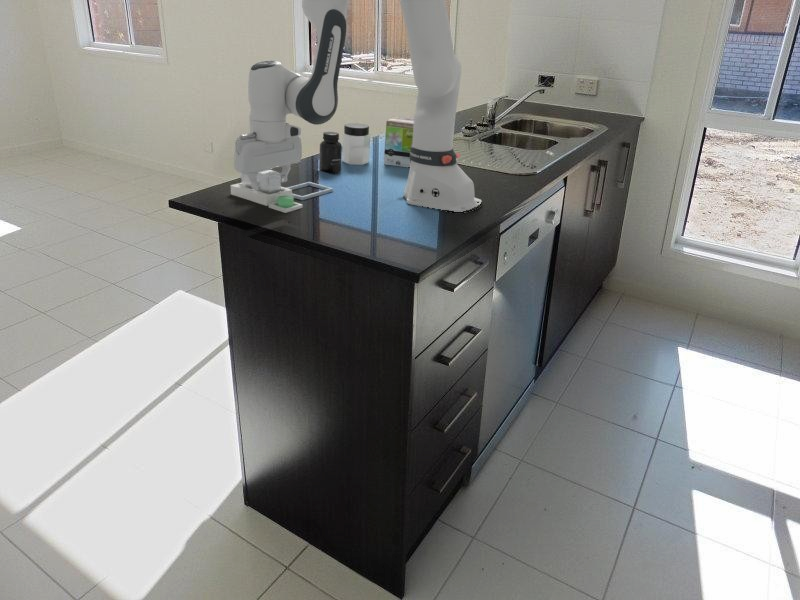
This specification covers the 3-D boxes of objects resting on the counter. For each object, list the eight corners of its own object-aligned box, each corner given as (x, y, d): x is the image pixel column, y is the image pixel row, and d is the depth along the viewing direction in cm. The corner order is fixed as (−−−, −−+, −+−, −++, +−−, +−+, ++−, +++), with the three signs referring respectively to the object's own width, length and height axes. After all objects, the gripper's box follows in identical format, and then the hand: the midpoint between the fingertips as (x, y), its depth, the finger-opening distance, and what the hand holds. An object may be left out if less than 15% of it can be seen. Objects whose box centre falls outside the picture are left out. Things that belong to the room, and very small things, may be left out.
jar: (368, 159, 214) (369, 123, 209) (369, 165, 207) (371, 128, 202) (342, 158, 213) (342, 122, 208) (342, 164, 206) (343, 127, 201)
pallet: (292, 202, 166) (291, 189, 164) (266, 210, 159) (266, 196, 158) (257, 192, 173) (256, 179, 171) (231, 198, 166) (230, 185, 165)
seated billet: (263, 193, 168) (263, 167, 165) (252, 196, 165) (251, 170, 162) (253, 190, 170) (252, 164, 167) (241, 193, 167) (240, 167, 164)
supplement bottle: (337, 175, 193) (338, 136, 188) (316, 173, 194) (316, 134, 189) (343, 170, 199) (344, 132, 194) (323, 168, 200) (323, 130, 195)
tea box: (383, 165, 208) (385, 120, 202) (390, 159, 217) (393, 115, 211) (427, 170, 205) (431, 125, 199) (433, 164, 214) (437, 119, 208)
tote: (333, 195, 174) (333, 188, 173) (302, 204, 165) (302, 197, 164) (309, 188, 179) (309, 181, 178) (277, 197, 170) (277, 189, 169)
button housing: (302, 212, 160) (302, 204, 159) (285, 217, 155) (285, 209, 154) (285, 206, 163) (285, 199, 162) (268, 211, 158) (268, 204, 157)
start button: (297, 209, 159) (296, 198, 158) (285, 212, 156) (285, 201, 155) (285, 205, 161) (285, 194, 160) (274, 209, 158) (274, 197, 157)
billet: (281, 199, 164) (280, 172, 161) (269, 202, 162) (269, 175, 158) (270, 195, 167) (269, 169, 164) (258, 198, 164) (257, 172, 161)
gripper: (244, 138, 147) (247, 195, 153) (305, 127, 162) (305, 180, 168) (226, 133, 150) (229, 190, 156) (288, 124, 165) (289, 175, 171)
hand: (269, 184), depth 162 cm, fingers open, 8 cm apart
